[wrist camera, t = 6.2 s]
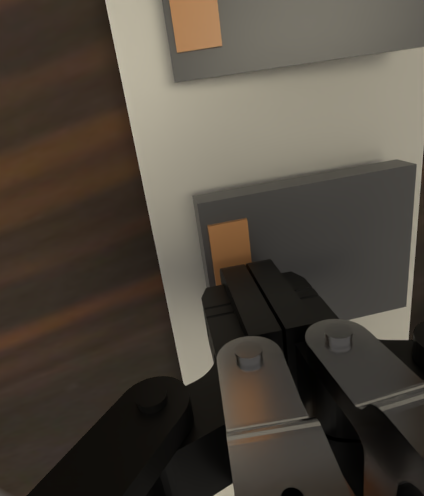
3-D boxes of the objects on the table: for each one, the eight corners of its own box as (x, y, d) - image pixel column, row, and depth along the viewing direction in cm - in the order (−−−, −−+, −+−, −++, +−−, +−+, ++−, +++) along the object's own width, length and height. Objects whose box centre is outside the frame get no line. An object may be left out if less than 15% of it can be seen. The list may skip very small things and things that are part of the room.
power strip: (367, 437, 23) (401, 490, 20) (205, 476, 22) (214, 537, 19) (391, -275, 12) (479, -408, 9) (58, -256, 11) (22, -397, 8)
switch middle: (389, 293, 15) (408, 308, 14) (213, 333, 14) (220, 352, 13) (396, 159, 13) (419, 164, 12) (192, 195, 12) (198, 204, 11)
